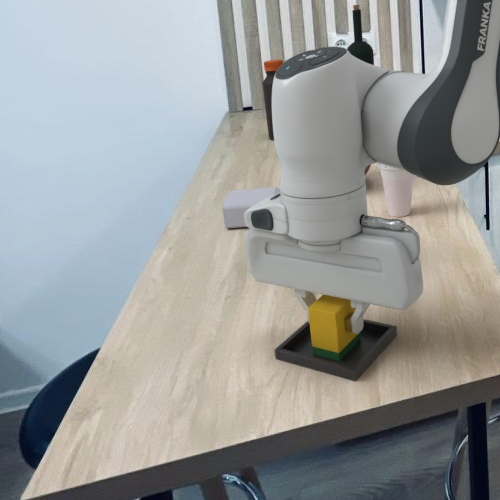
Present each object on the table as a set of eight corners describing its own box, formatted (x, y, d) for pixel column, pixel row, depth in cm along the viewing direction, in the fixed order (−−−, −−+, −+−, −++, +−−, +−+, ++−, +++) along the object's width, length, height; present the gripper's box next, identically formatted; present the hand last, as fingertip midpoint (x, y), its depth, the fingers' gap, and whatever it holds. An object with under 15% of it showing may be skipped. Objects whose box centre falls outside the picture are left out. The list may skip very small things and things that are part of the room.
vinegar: (269, 141, 173) (260, 64, 166) (268, 136, 179) (259, 61, 172) (295, 138, 173) (287, 60, 165) (292, 133, 179) (285, 57, 172)
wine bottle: (349, 122, 182) (341, 8, 171) (348, 114, 192) (341, 6, 180) (378, 119, 181) (372, 4, 170) (376, 111, 190) (370, 2, 179)
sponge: (361, 339, 76) (357, 293, 74) (339, 361, 72) (335, 313, 70) (334, 333, 78) (330, 288, 76) (312, 354, 74) (307, 307, 72)
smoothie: (411, 221, 109) (408, 138, 104) (374, 218, 112) (369, 138, 107) (423, 207, 114) (421, 128, 109) (388, 205, 117) (384, 128, 112)
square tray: (397, 338, 76) (396, 326, 75) (355, 385, 69) (354, 371, 68) (321, 321, 82) (320, 309, 81) (275, 362, 75) (274, 349, 74)
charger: (310, 224, 114) (225, 230, 116) (312, 206, 122) (233, 212, 125) (307, 198, 112) (221, 205, 114) (310, 182, 120) (230, 188, 123)
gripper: (431, 210, 65) (434, 331, 70) (264, 193, 77) (277, 298, 82) (404, 233, 61) (410, 361, 66) (231, 211, 73) (247, 321, 78)
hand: (335, 326), depth 74 cm, fingers closed on sponge, 3 cm apart
